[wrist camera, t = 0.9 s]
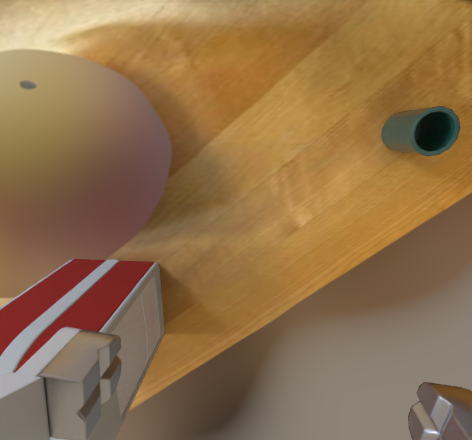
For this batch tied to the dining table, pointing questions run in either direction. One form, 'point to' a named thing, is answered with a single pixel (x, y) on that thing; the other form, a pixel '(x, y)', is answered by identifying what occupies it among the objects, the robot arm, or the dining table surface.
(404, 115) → the pot
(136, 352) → the tissue box
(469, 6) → the dining table surface
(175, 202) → the dining table surface
